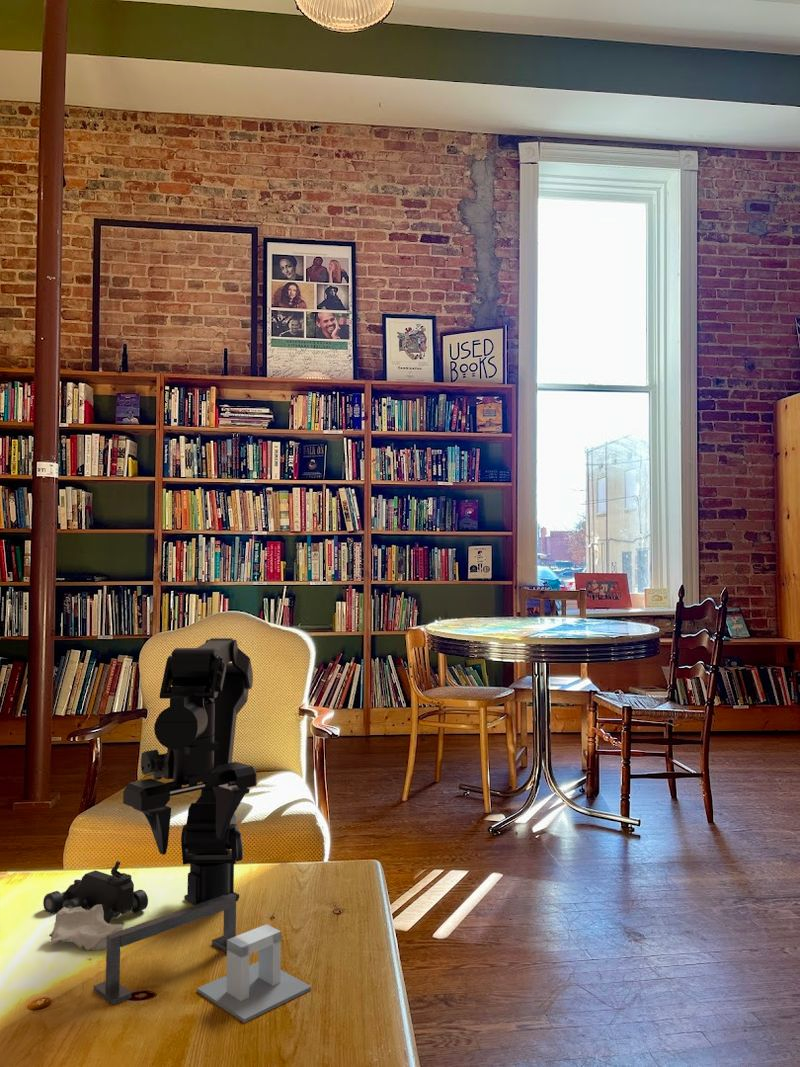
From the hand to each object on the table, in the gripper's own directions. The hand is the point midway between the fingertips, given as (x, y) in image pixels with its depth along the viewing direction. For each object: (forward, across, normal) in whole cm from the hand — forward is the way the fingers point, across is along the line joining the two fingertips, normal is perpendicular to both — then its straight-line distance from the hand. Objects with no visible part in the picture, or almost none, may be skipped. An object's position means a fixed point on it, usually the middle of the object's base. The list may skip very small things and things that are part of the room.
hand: (191, 845), depth 110 cm
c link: (+13, +2, +18) cm, 22 cm away
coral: (+13, +10, -10) cm, 20 cm away
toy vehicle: (+14, +5, -19) cm, 24 cm away
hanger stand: (+13, +6, +6) cm, 16 cm away
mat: (+13, +2, +18) cm, 22 cm away
